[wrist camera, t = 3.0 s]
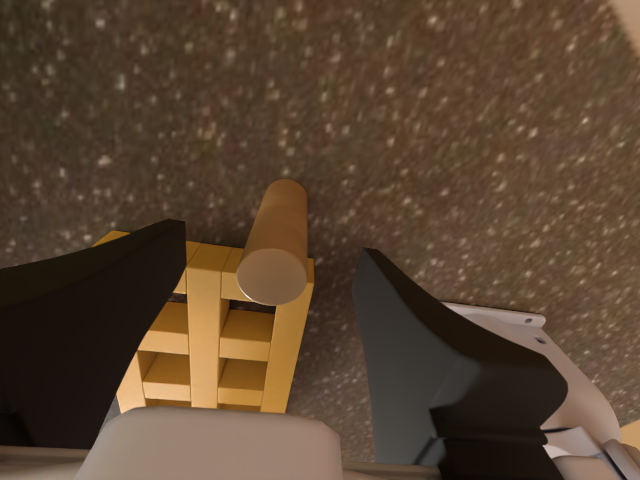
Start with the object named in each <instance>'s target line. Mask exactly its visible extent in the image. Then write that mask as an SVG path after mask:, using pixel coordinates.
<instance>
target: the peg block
mask: <svg viewBox="0 0 640 480" xmlns="http://www.w3.org/2000/svg"><path fill="white" fill-rule="evenodd" d="M127 234H130V233H127V232H120V231H111V232H110V233H109V234H107V235H106V236H105V237H104V238H102V239H101V240H100V241H98V242H97V243H96V244H95V245H93V246H92V247H94V246H97V245H99V244H102V243H105V242H108V241H111V240H114V239H116V238H119V237H122V236H125V235H127ZM243 251H244V249H242V248H235V247H233V248H232V247H226V246H219V245H212V244H204V243H202V244H201V243H199V242H192V241H186V256H187V265H186V268H185V270H184V272H183V275H182V277H181V279H180V281H179V283H178V285H177V287H176V289H175V290H174V292H175V293H183V294H187V299H188V304H186V303H177V302H168V301H167V303H166V304H165V306H164V307H163V309H162V310H161V312H160V313H159V315H158V316H157V318H156V319H155V321H154V322H153V324H152V325H151V327H150V328H149V330H148V332H147V333H146V335H145V337H144V338H143V340H142V342H141V344H140V346H139V348H138V350H137V352H136V354H135V356H134V358H133V359H132V361H131V363H130V365H129V367H128V370H127V372H126V374H125V376H124V378H123V380H122V382H121V384H120V386H119V388H118V391H117V393H116V394H117V398H118V402H119V406H120V410H121V414H122V413H124V412H126V411H128V410H130V409H133V408H135V407H146V406H158V405H170V406H185V407H200V408H215V409H230V410H245V411H260V412H275V413H285V410H286V406H287V401H288V397H289V393H290V388H291V384H292V379H293V375H294V371H295V366H296V362H297V357H298V353H299V349H300V344H301V340H302V335H303V331H304V327H305V322H306V318H307V313H308V309H309V305H310V300H311V296H312V292H313V287H314V262H313V258H308V281H307V285H306V288H305V290H304V291H303V293H302V294H301V295H300V296H299V297H298V298H297V299H295V300H294V301H292V302H290V303H287V304H284V305H278V306H276V311H275V314H272V313H263V312H254V311H245V310H236V309H230V310H229V306H230V299H234V300H243V301H251V302H255V301H253V300H251V299H250V298H248V297H247V296H246V295H245V294H244V293H243V292H242V291H241V289H240V288H239V286H238V283H237V279H236V270H237V267H238V264H239V261H240V259H241V256H242V253H243Z"/></svg>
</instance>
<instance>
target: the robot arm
mask: <svg viewBox="0 0 640 480" xmlns="http://www.w3.org/2000/svg"><path fill="white" fill-rule="evenodd" d="M186 265H187V256H186V231H185V221H179V220H172V219H167V220H163V221H160V222H158V223H155V224H152V225H150V226H147V227H145V228H142V229H140V230H137V231H135V232H132V233H130V234H127V235H125V236H122V237H119V238H116V239H114V240H111V241H108V242H105V243H102V244H99V245H97V246H94V247H91V248H87V249H84V250H81V251H77V252H74V253H70V254H66V255H63V256H59V257H55V258H51V259H46V260H42V261H37V262H32V263H28V264H23V265H18V266H14V267H8V268H3V269H0V480H640V451H639V450H638V449H637V448H635V447H632V446H629V445H627V444H622V443H621V432H620V427H619V424H618V421H617V418H616V416H615V413H614V411H613V409H612V408H611V406H610V404H609V402H608V401H607V399H606V398H605V397H604V395H603V394H602V393H601V392H600V391H599V390H598V388H597V387H596V386H595V385H594V384H593V383H592V382H591V381H590V380H589V379H588V378H587V377H586V376H585V375H584V374H583V373H582V371H581V370H580V369H579V368H578V367H577V366H576V365H575V364H574V363H573V362H572V361H571V360H570V359H569V358H568V357H567V356H566V354H565V353H564V352H563V351H562V350H561V349H560V348H559V347H558V346H557V345H556V344H555V343H554V342H553V341H552V340H551V339H550V337H549V336H548V335H547V334H546V333H545V332H544V331H543V330H542V329H541V327H542V326H543V324H544V323H545V321H546V319H545V318H544V317H543V316H542V315H540V314H533V313H525V312H517V311H510V310H502V309H494V308H486V307H478V306H471V305H463V304H455V303H447V302H440V301H438V300H437V299H435V298H434V297H432V296H431V295H430V294H428V293H427V292H426V291H425V290H423V289H422V288H421V287H420V286H418V285H417V284H416V283H415V282H413V281H412V280H411V279H410V278H409V277H408V276H407V275H405V274H404V273H403V272H402V271H401V270H400V269H399V268H398V267H397V266H395V265H394V264H393V263H392V262H391V261H390V260H389V259H388V258H387V257H386V256H385V255H383V254H382V253H381V252H380V251H379V250H377V249H370V248H363V250H362V253H361V256H360V260H359V263H358V266H357V269H356V273H355V276H354V279H353V282H352V299H353V307H354V312H355V316H356V321H357V325H358V329H359V333H360V337H361V341H362V346H363V350H364V355H365V360H366V366H367V374H368V382H369V391H370V401H371V410H372V422H373V435H374V449H375V463H366V462H344V461H341V451H340V440H339V435H338V434H337V433H336V432H335V431H333V430H332V429H331V428H330V427H328V426H327V425H326V424H324V423H323V422H322V421H321V420H319V419H315V418H311V417H307V416H302V415H298V414H290V413H275V412H260V411H245V410H230V409H215V408H200V407H185V406H170V405H158V406H146V407H135V408H133V409H130V410H128V411H126V412H124V413H122V414H120V415H119V416H117V417H115V418H113V419H111V420H109V421H108V422H107V423H106V425H105V426H104V428H103V430H102V432H101V433H100V435H99V437H98V438H97V436H98V433H99V431H100V429H101V426H102V424H103V422H104V420H105V417H106V415H107V413H108V411H109V408H110V406H111V404H112V402H113V399H114V397H115V395H116V393H117V391H118V388H119V386H120V384H121V382H122V380H123V378H124V376H125V374H126V372H127V370H128V367H129V365H130V363H131V361H132V359H133V358H134V356H135V354H136V352H137V350H138V348H139V346H140V344H141V342H142V340H143V338H144V337H145V335H146V333H147V332H148V330H149V328H150V327H151V325H152V324H153V322H154V321H155V319H156V318H157V316H158V315H159V313H160V312H161V310H162V309H163V307H164V306H165V304H166V303H167V301H168V299H169V298H170V296H171V295H172V293H173V292H174V290H175V289H176V287H177V285H178V283H179V281H180V279H181V277H182V275H183V272H184V270H185V268H186ZM96 438H97V440H96ZM95 441H96V442H95ZM94 443H95V444H94Z"/></svg>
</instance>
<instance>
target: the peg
mask: <svg viewBox="0 0 640 480" xmlns="http://www.w3.org/2000/svg"><path fill="white" fill-rule="evenodd" d="M236 279H237V283H238V286H239V288H240V289H241V291H242V292H243V293H244V294H245V295H246V296H247V297H248V298H250V299H251V300H253V301H255V302H257V303H260V304H263V305H270V306H278V305H284V304H287V303H290V302H292V301H294V300H295V299H297V298H298V297H299V296H300V295H301V294H302V293H303V291H304V290H305V288H306V285H307V281H308V205H307V194H306V192H305V190H304V188H303V187H302V186H301V185H300V184H299V183H297V182H296V181H293V180H290V179H280V180H277V181H275V182H273V183H272V184H270V185H269V187H268V188H267V190H266V192H265V194H264V197H263V200H262V202H261V205H260V208H259V211H258V213H257V216H256V219H255V221H254V224H253V227H252V229H251V232H250V235H249V237H248V240H247V243H246V245H245V248H244V251H243V253H242V256H241V259H240V261H239V264H238V267H237V270H236Z"/></svg>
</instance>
